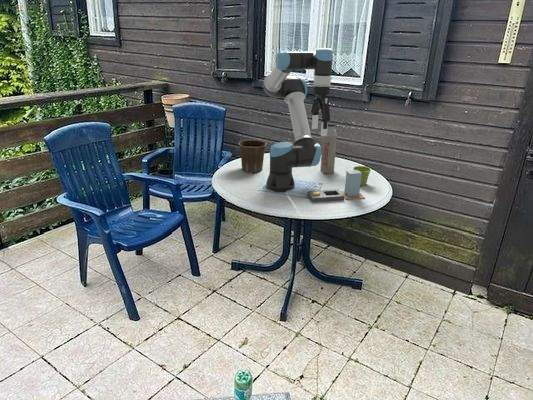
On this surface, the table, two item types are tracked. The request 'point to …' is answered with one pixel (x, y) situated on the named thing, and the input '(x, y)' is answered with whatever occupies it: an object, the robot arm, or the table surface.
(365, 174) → the plant pot
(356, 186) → the light blue tall block
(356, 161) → the table surface
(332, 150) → the thermos bottle
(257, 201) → the table surface
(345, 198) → the walnut board
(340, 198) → the dark grey holder
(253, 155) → the plant pot
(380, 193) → the table surface
